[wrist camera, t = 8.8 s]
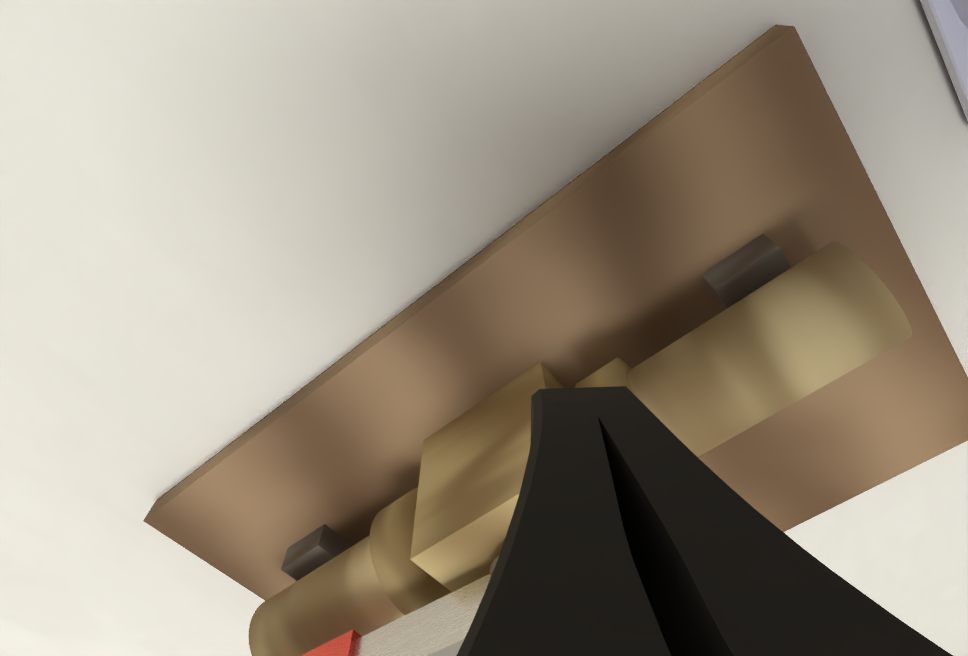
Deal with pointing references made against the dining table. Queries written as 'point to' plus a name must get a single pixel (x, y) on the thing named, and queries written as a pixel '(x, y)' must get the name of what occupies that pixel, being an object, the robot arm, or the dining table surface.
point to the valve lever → (417, 628)
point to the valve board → (600, 362)
